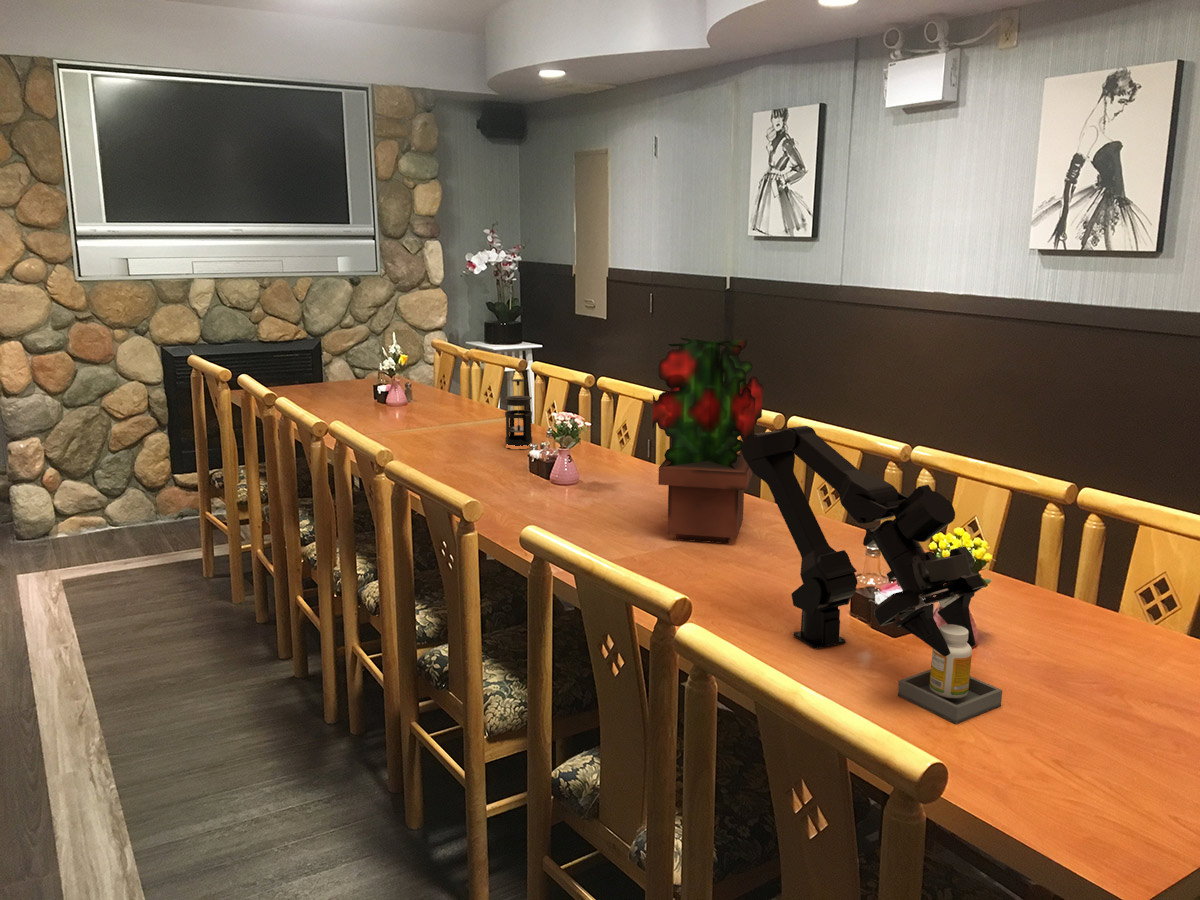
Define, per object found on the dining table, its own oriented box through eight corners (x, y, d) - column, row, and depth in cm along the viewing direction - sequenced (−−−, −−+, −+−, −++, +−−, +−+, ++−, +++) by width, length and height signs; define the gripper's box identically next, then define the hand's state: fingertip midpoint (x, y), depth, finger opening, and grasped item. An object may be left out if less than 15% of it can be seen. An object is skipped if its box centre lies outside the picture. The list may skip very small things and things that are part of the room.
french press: (498, 446, 318) (497, 378, 314) (522, 443, 324) (521, 376, 319) (517, 452, 309) (515, 382, 304) (541, 448, 315) (540, 380, 310)
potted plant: (650, 544, 212) (653, 345, 203) (667, 518, 233) (670, 336, 224) (749, 552, 207) (757, 347, 198) (757, 524, 228) (764, 338, 219)
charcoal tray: (897, 695, 140) (899, 680, 140) (942, 679, 146) (943, 664, 145) (955, 724, 132) (957, 707, 131) (1000, 706, 137) (1002, 690, 137)
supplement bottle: (969, 687, 140) (975, 626, 138) (966, 702, 135) (972, 639, 133) (931, 679, 142) (936, 619, 140) (926, 694, 137) (932, 632, 135)
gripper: (896, 540, 132) (955, 642, 125) (980, 521, 142) (1039, 614, 135) (850, 577, 140) (903, 674, 133) (932, 556, 150) (986, 645, 143)
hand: (960, 650), depth 136 cm, fingers closed on supplement bottle, 5 cm apart
